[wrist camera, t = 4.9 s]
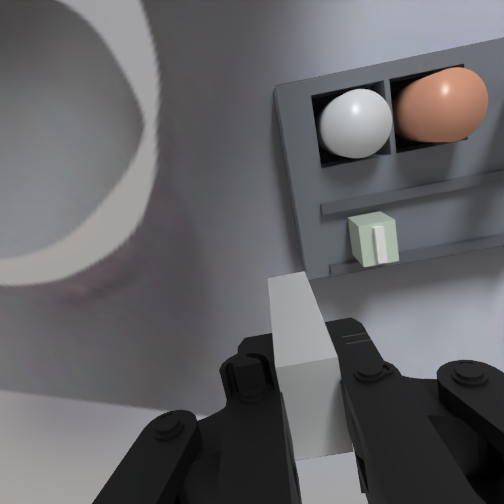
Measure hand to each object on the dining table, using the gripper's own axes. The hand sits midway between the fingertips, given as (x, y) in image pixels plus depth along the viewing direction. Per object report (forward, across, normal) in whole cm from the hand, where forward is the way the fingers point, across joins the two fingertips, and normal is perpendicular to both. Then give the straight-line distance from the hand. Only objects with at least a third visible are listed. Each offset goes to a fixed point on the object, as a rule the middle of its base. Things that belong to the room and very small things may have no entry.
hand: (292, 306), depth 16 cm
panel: (+13, +10, +3) cm, 17 cm away
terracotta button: (+11, +10, +6) cm, 16 cm away
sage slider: (+10, +6, 0) cm, 11 cm away
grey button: (+12, +5, +6) cm, 15 cm away
